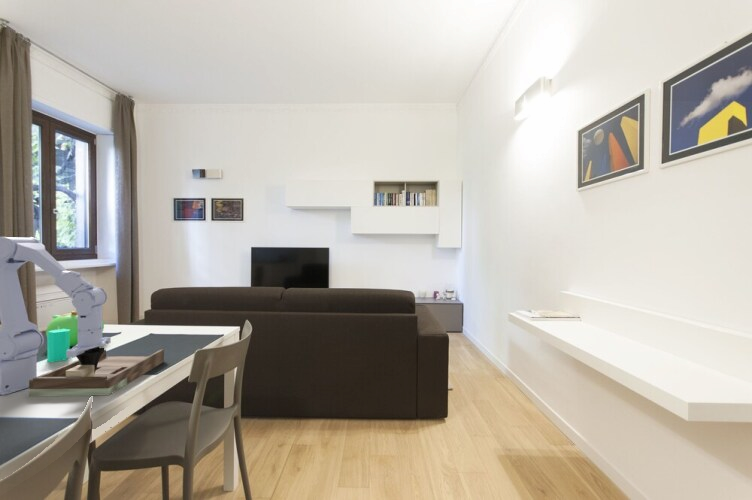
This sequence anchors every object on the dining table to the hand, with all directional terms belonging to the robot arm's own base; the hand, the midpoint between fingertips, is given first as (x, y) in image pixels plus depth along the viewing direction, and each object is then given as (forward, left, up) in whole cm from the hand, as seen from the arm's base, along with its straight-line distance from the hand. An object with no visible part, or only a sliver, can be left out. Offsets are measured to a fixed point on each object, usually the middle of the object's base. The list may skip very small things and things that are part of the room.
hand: (90, 373), depth 103 cm
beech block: (-3, -1, -1) cm, 4 cm away
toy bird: (+27, +48, -4) cm, 55 cm away
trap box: (+6, +2, -3) cm, 7 cm away
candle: (+13, +35, -4) cm, 38 cm away
